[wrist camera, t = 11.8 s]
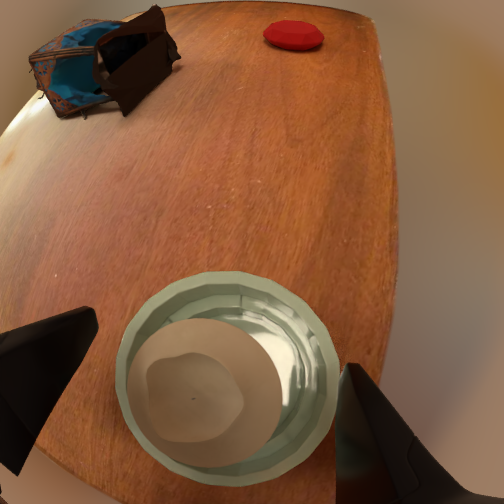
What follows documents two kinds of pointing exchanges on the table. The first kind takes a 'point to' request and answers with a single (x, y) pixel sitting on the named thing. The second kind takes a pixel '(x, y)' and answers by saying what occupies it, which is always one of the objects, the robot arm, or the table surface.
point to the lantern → (105, 62)
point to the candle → (204, 392)
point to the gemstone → (293, 35)
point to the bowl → (276, 345)
